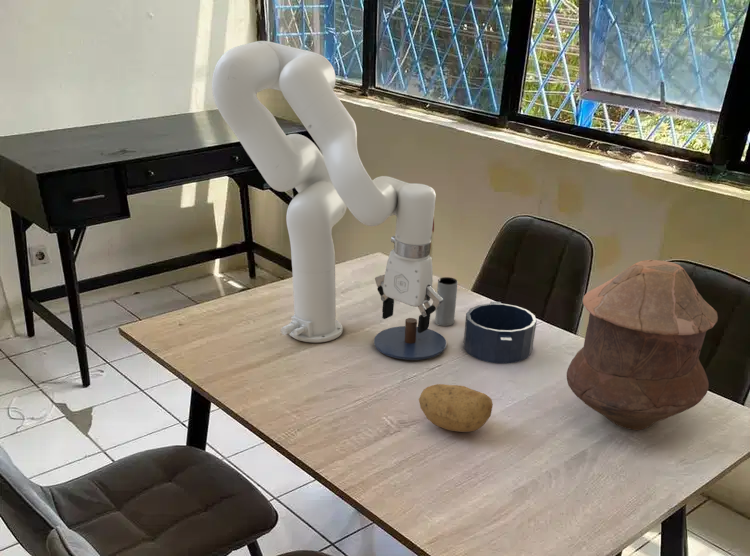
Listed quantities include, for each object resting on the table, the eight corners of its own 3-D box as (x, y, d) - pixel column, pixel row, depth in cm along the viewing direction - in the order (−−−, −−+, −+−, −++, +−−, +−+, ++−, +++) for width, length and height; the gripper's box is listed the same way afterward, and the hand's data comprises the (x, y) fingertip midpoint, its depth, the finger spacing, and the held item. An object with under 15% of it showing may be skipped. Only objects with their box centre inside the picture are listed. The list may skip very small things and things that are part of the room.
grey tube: (456, 320, 186) (459, 278, 180) (451, 327, 183) (454, 285, 177) (437, 317, 188) (440, 275, 181) (432, 324, 184) (435, 282, 178)
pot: (524, 329, 183) (528, 299, 178) (537, 370, 166) (543, 338, 162) (460, 328, 183) (463, 297, 178) (467, 368, 166) (470, 336, 162)
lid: (443, 331, 181) (445, 306, 177) (448, 363, 168) (450, 337, 164) (374, 329, 181) (374, 304, 177) (373, 361, 168) (373, 335, 164)
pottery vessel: (628, 467, 137) (670, 306, 119) (532, 404, 154) (556, 256, 136) (723, 428, 148) (774, 276, 130) (623, 374, 166) (657, 233, 148)
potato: (428, 406, 153) (430, 370, 148) (496, 423, 148) (501, 386, 143) (408, 430, 146) (410, 392, 141) (479, 448, 141) (484, 410, 136)
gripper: (368, 241, 163) (363, 316, 173) (436, 263, 155) (427, 341, 165) (390, 233, 168) (384, 307, 178) (456, 254, 160) (446, 331, 170)
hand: (404, 323), depth 172 cm, fingers open, 9 cm apart
